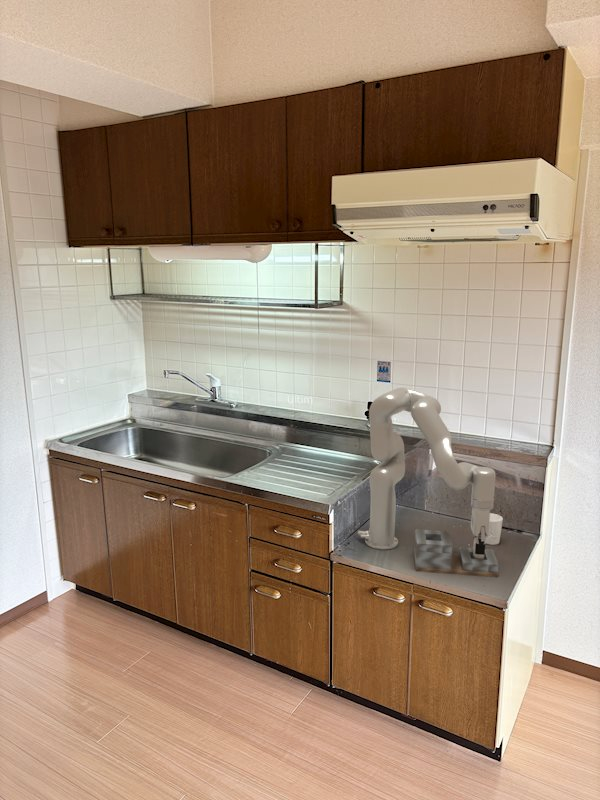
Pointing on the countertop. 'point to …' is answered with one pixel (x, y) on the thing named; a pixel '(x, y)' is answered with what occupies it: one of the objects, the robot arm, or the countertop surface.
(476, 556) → the peg
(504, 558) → the countertop surface
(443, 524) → the countertop surface
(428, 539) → the socket board
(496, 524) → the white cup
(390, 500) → the robot arm
